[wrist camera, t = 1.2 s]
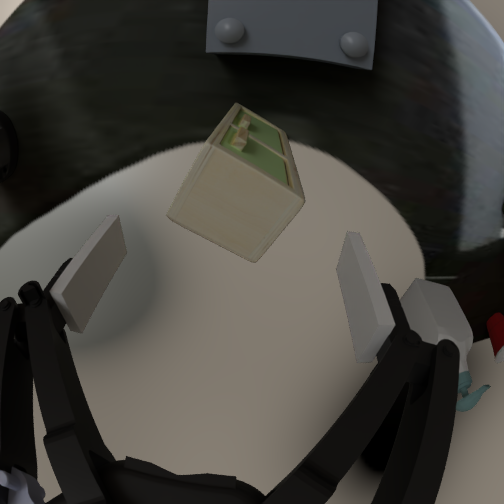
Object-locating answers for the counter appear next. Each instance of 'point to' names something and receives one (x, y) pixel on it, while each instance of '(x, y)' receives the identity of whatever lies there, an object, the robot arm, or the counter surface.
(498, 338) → the plastic cup
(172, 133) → the counter surface
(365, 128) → the counter surface
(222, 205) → the toy refrigerator
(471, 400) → the white spray bottle
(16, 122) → the counter surface
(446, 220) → the counter surface
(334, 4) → the base brick
